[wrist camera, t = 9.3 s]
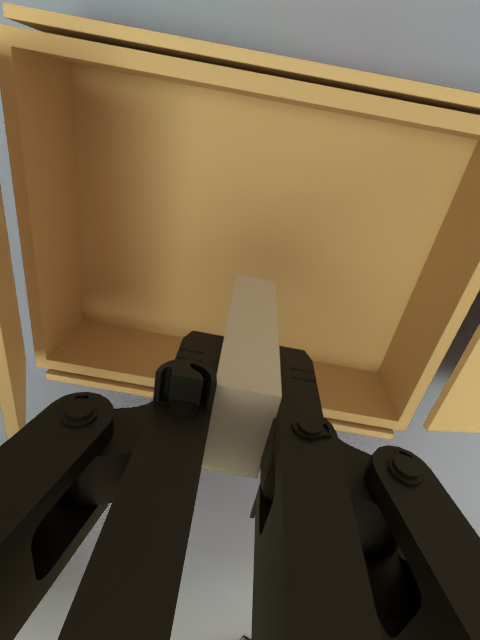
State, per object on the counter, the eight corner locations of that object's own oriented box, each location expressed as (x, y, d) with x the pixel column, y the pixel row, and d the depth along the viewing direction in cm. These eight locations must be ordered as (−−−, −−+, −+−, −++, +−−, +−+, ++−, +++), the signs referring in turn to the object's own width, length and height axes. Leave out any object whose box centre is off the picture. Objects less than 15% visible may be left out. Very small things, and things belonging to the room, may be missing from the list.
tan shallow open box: (78, 330, 25) (35, 377, 20) (60, 30, 17) (-16, -1, 13) (378, 383, 25) (401, 441, 21) (497, 113, 17) (577, 112, 13)
